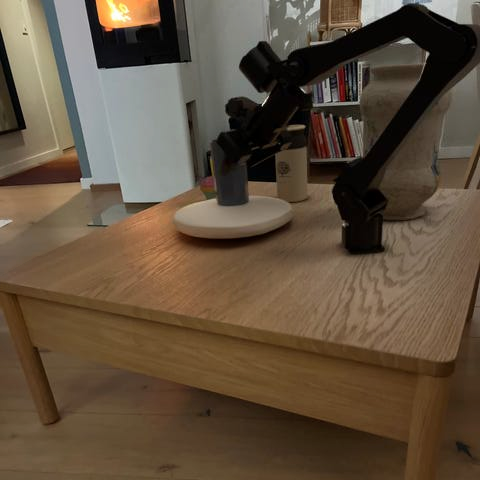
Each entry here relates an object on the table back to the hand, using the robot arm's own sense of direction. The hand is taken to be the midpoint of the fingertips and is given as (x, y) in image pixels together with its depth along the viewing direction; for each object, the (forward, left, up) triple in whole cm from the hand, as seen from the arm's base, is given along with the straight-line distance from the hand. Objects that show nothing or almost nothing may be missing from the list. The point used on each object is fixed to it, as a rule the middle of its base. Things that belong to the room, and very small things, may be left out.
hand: (235, 169), depth 100 cm
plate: (+1, -1, -13) cm, 13 cm away
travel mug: (-16, -22, -13) cm, 30 cm away
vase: (-36, 0, -13) cm, 38 cm away
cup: (+1, -1, -7) cm, 7 cm away
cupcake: (+4, -27, -13) cm, 31 cm away
